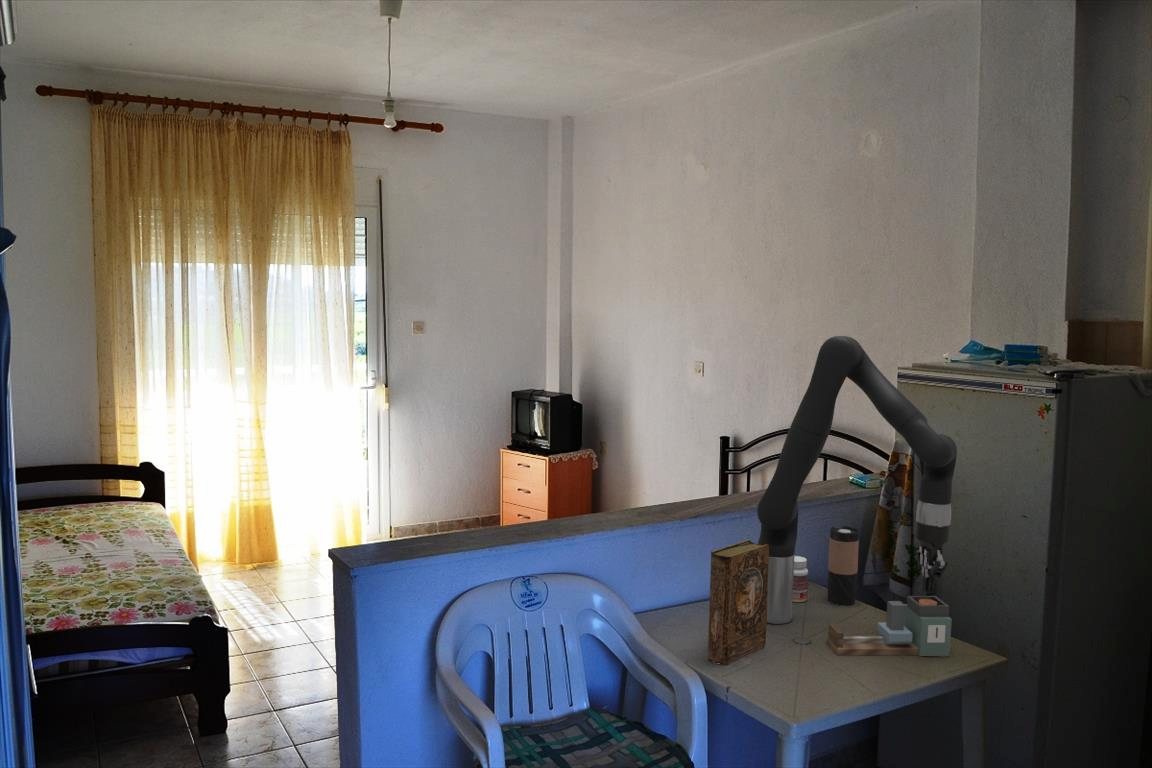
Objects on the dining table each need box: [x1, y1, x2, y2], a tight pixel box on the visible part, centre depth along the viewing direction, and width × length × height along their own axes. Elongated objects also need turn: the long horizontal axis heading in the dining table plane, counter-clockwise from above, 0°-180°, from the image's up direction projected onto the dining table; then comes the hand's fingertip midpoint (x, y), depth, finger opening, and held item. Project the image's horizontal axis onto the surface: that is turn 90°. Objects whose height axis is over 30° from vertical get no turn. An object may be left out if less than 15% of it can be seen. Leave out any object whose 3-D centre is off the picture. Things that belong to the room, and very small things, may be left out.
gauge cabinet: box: [903, 595, 953, 658], centre depth 215 cm, size 7×10×12 cm, turn 3°
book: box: [707, 539, 769, 665], centre depth 210 cm, size 16×6×25 cm, turn 134°
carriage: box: [876, 600, 913, 644], centre depth 215 cm, size 6×7×9 cm
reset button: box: [919, 599, 937, 605], centre depth 215 cm, size 4×4×2 cm
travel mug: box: [827, 525, 860, 606], centre depth 246 cm, size 8×8×20 cm
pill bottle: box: [793, 555, 809, 603], centre depth 248 cm, size 6×6×11 cm
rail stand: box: [826, 623, 919, 657], centre depth 215 cm, size 19×8×5 cm, turn 93°
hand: (928, 592), depth 214 cm, fingers closed
